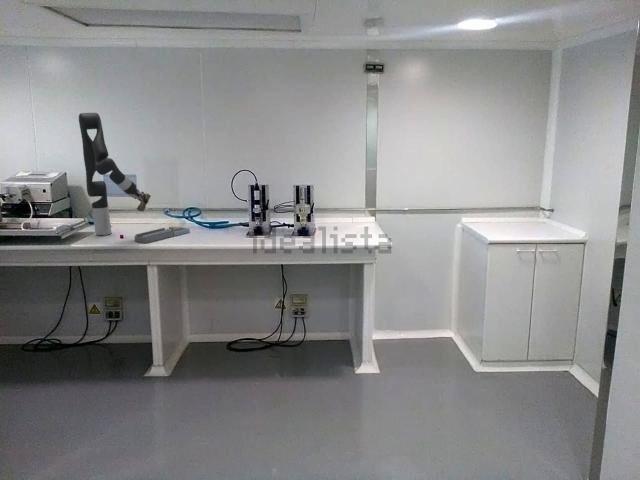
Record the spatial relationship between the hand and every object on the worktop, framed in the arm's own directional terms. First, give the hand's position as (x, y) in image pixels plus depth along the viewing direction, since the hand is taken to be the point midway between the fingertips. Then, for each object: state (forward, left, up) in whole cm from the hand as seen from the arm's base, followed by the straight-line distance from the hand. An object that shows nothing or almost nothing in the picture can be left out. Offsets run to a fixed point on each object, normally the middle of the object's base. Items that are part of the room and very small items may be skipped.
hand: (145, 202), depth 298 cm
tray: (0, +16, -21) cm, 26 cm away
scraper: (+3, -4, -4) cm, 6 cm away
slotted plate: (+10, +3, -21) cm, 23 cm away
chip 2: (0, +17, -17) cm, 24 cm away
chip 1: (+3, +13, -18) cm, 23 cm away
